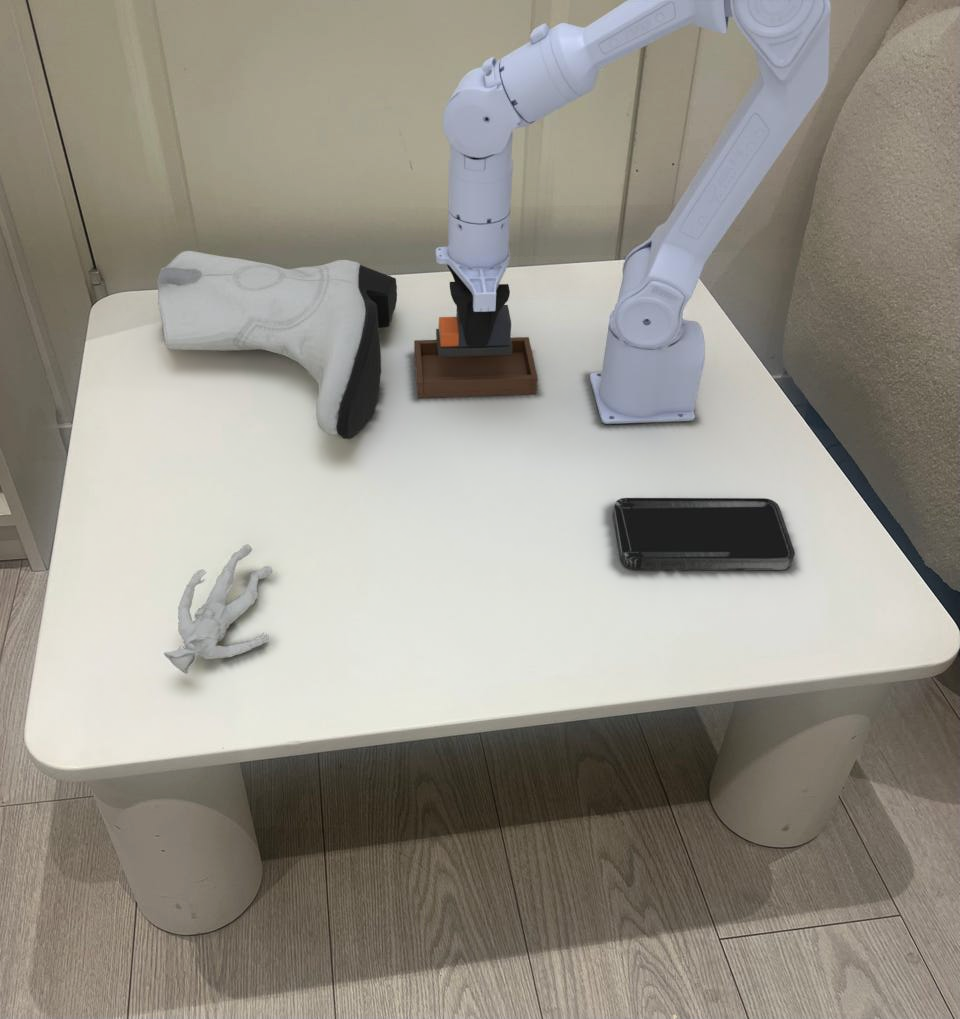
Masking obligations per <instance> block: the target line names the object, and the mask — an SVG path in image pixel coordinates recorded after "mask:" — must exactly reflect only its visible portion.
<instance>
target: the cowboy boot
mask: <svg viewBox="0 0 960 1019" xmlns="http://www.w3.org/2000/svg"><path fill="white" fill-rule="evenodd" d="M156 285H157V306H158V310H159V314H160V318H161V322H162V329H163V330H162V331H163V332H162V333H163V342H164V345H165V348H166V349H169V350H182V351H220V352H221V351H223V352H224V351H227V352H228V351H253V350H263V351H267V352H271V353H275V354H278V355H282V356H285V357H287V358H289V359H290V360H293V361H295V362H297V363H299V365H300V366H302V367H303V368H304V369H305V370H306V372H308V373H309V374H310V375H311V377H312V378H313V379H314V380H315V381H316V383H317V384H318V396H317V402H316V412H315V416H316V422H317V427H318V428H319V430H321V431H322V432H323V433H325V434H328V435H331V436H335V435H336V436H339V437H340V438H341V439H344V440H350V441H351V440H352V439H354V438H355V437H356V436H358V434H359V433H360V432H361V431H362V430H363V429H364V428H365V426H366V425H367V424H368V423H369V421H370V419H371V418H372V417H373V414H374V412H375V411H376V407H377V405H378V399H379V393H380V385H381V375H382V350H381V349H382V348H381V336H380V335H381V334H380V329H383V328H388V327H390V325H391V322H392V320H393V316H394V313H395V310H396V306H397V301H398V291H397V290H398V284H397V278H396V277H392V276H391V275H389V274H386V273H384V272H380V271H378V270H375V269H373V268H370V267H367V266H365V265H362V264H361V263H360V262H357V261H353V260H349V259H338V260H334V261H332V262H328V263H325V264H321V265H312V266H301V267H296V268H284V267H282V266H278V265H274V264H270V263H265V262H258V261H253V260H249V259H242V258H238V257H237V258H236V257H231V256H229V257H228V256H222V255H218V254H217V255H216V254H209V253H206V252H205V253H204V252H198V251H194V250H185V251H181V252H180V253H179V254H177V255H176V257H174V258H173V259H172V260H171V261H169V263H168V264H167V265H166V266H165V267H162V268H161V270H160V271H159V274H158V277H157V284H156Z"/></svg>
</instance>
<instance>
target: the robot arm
mask: <svg viewBox="0 0 960 1019" xmlns="http://www.w3.org/2000/svg"><path fill="white" fill-rule="evenodd" d="M831 13H832V6H831V0H625V1H624V2H623V3H620V5H618V6H616V7H615V8H613V9H612V10H610V11H608V12H606V13H605V14H603V15H602V16H601V17H599V18H598V19H596V20H595V21H593V22H592V23H590V24H588V25H587V26H585V27H583V26H582V27H581V26H578V25H573V24H570V23H566V22H559V23H558V24H557V25H555V26H553V27H551V28H549V27H548V24H546V23H542V24H541V25H538V26H537V27H536V28H534V29H532V32H531V33H530V35H529V39H530V41H528V42H527V43H525V44H524V45H522V46H519V47H518V48H516V49H515V50H513V51H512V52H510V53H508V54H507V55H505V56H503V57H500V58H499V59H498V60H497V59H496V58H495V56H491V57H490V58H488V59H486V60H484V62H483V64H482V65H481V67H475V68H474V69H472V70H470V71H468V72H466V74H465V75H464V76H463V77H462V78H461V80H460V81H459V82H458V84H457V86H456V88H455V89H454V91H453V93H452V95H451V96H450V98H449V100H448V102H447V103H446V106H445V108H444V112H443V116H442V127H443V128H442V129H443V132H444V135H445V137H446V139H447V141H448V142H449V159H448V193H447V194H448V197H447V198H448V200H447V202H448V204H447V205H448V207H447V208H448V210H447V211H448V212H447V213H448V215H447V220H448V221H447V245H446V246H438V247H436V248H435V261H436V263H437V264H438V265H446V266H447V268H448V270H449V272H450V274H451V276H452V278H453V281H449V292H450V297H451V299H452V301H453V303H454V305H455V306H456V309H457V308H458V310H459V312H460V315H461V318H462V323H463V330H464V336H465V340H466V343H467V345H468V346H485V345H487V344H488V342H489V339H490V337H491V333H492V330H493V327H494V323H495V320H496V318H497V315H498V313H499V312H500V310H501V308H502V307H503V306H504V305H506V303H507V302H508V301H509V299H510V295H511V290H510V285H509V283H501V281H502V279H503V277H504V274H505V273H506V270H507V269H508V266H509V264H510V260H511V251H510V248H509V244H510V226H511V225H510V224H511V205H512V187H513V172H514V171H513V169H514V168H513V167H514V163H513V162H514V161H513V155H512V154H513V136H514V132H513V131H514V130H517V129H520V128H521V129H522V128H525V127H529V126H531V125H533V124H534V123H536V122H538V121H540V120H541V119H543V118H545V117H547V116H549V115H551V114H552V113H554V112H556V111H558V110H560V109H561V108H563V107H565V106H568V105H569V104H570V103H572V102H575V101H576V100H578V99H580V98H582V97H583V96H585V95H587V94H589V93H591V92H592V91H593V90H594V88H595V86H596V83H597V80H598V75H599V72H600V69H602V68H604V67H606V66H608V65H610V64H612V63H614V62H616V61H618V60H620V59H622V58H624V57H626V56H628V55H630V54H632V53H634V52H636V51H638V50H640V49H642V48H645V47H646V46H648V45H650V44H652V43H655V42H656V41H658V40H661V39H662V38H664V37H666V36H668V35H670V34H673V33H675V32H676V31H678V30H680V29H683V28H685V27H686V26H690V25H693V26H696V27H699V28H703V29H705V30H709V31H712V32H715V33H718V34H723V35H727V34H728V26H729V18H730V17H731V18H732V19H733V21H734V23H735V25H736V26H737V28H738V29H739V32H740V33H741V35H743V37H744V38H745V39H746V40H747V41H748V42H749V44H750V45H751V47H752V48H753V49H754V51H755V52H754V53H755V56H756V60H757V63H758V67H759V71H760V72H759V74H758V75H757V76H756V79H755V80H754V82H753V83H752V85H751V87H750V88H749V90H748V91H747V92H746V94H745V96H744V97H743V99H742V101H741V103H740V104H739V105H738V107H737V109H736V110H735V112H734V113H733V115H732V116H731V118H730V120H728V123H727V124H726V126H725V128H724V129H723V130H722V133H721V134H720V135H719V137H718V139H717V140H716V142H715V144H714V145H713V147H712V148H711V150H710V151H709V152H708V154H707V156H706V158H705V159H704V161H703V163H702V164H701V165H700V167H699V168H698V171H697V172H696V174H695V175H694V177H693V178H692V180H691V182H689V185H688V186H687V188H686V190H685V191H684V193H683V194H682V196H681V198H680V199H679V201H678V202H677V203H676V206H674V208H673V210H672V212H671V213H670V215H669V216H668V218H667V220H666V221H665V222H664V223H662V224H660V225H658V226H657V227H655V229H654V231H653V233H652V234H651V236H650V237H648V239H646V241H644V242H643V243H641V244H639V245H638V246H636V247H634V248H633V249H632V250H631V251H630V252H629V253H628V254H627V256H626V257H625V260H624V262H623V265H622V278H621V283H620V287H619V292H618V297H617V302H616V304H615V305H614V308H613V310H612V312H611V313H610V315H609V318H608V324H607V326H608V327H607V334H606V340H605V346H604V347H605V348H604V354H603V360H602V361H603V362H602V369H601V372H599V371H598V372H591V373H590V374H589V381H590V385H591V388H592V392H593V395H594V399H595V402H596V405H597V410H598V413H599V418H600V420H601V422H602V423H603V424H606V425H612V424H638V423H643V424H644V423H665V422H666V423H667V422H692V421H694V420H695V418H696V413H695V411H694V410H695V407H696V402H697V397H698V393H699V389H700V383H701V380H702V376H703V371H704V367H705V366H704V365H705V360H706V359H705V357H706V341H705V336H704V331H703V328H702V326H701V324H700V322H698V321H696V320H689V319H684V318H683V316H684V315H683V314H684V310H685V307H686V306H687V304H688V302H689V301H690V299H692V296H693V294H694V291H695V289H696V287H697V285H698V282H699V279H700V277H701V275H702V272H703V269H704V267H705V264H706V262H707V260H708V259H709V258H710V257H711V255H712V253H713V252H714V250H715V249H716V248H717V246H718V245H719V243H720V242H721V240H722V239H723V237H724V236H725V234H726V233H727V232H728V230H729V229H730V228H731V226H732V224H733V223H734V222H735V221H736V219H737V217H738V215H739V214H740V213H741V212H742V210H743V209H744V207H745V206H746V204H747V202H748V201H749V200H750V198H751V197H752V195H753V194H754V192H755V191H756V189H757V188H758V186H760V183H761V182H762V181H763V180H764V178H765V176H766V175H767V174H768V172H769V171H770V169H771V168H772V166H773V165H774V163H775V162H776V161H777V159H778V158H779V156H780V155H781V153H782V152H783V150H784V149H785V147H786V146H787V145H788V144H789V142H790V140H791V139H792V137H793V136H794V134H795V133H796V131H797V130H798V128H799V127H800V126H801V124H802V123H803V121H804V120H805V119H806V117H807V115H808V114H809V113H810V111H811V110H812V108H813V106H814V105H815V104H816V103H817V101H818V99H819V98H820V96H821V95H822V94H823V92H824V90H825V88H826V86H827V84H828V81H829V73H830V70H829V69H830V33H831Z"/></svg>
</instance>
